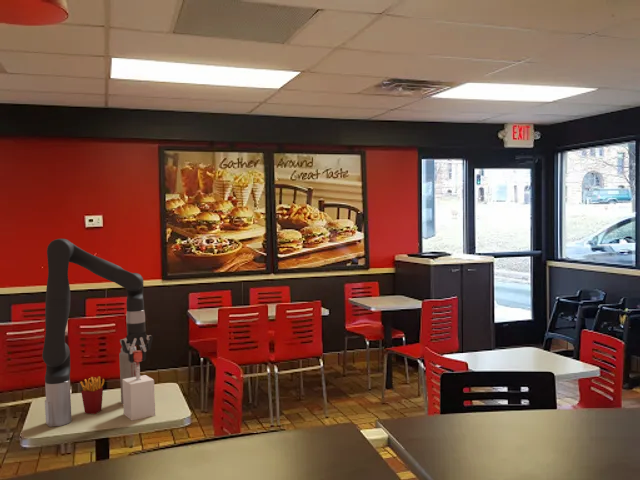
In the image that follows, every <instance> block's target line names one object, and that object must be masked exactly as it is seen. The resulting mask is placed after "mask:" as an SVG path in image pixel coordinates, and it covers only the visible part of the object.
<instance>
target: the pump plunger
mask: <svg viewBox="0 0 640 480" xmlns="http://www.w3.org/2000/svg"><path fill="white" fill-rule="evenodd" d="M132 354H133V362H135V363H136V381H137V380H140V376H141V367H140V362H144V361H143V351H142V350H141V349H138V350H137V349H136V351H133V353H132Z"/></svg>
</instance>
